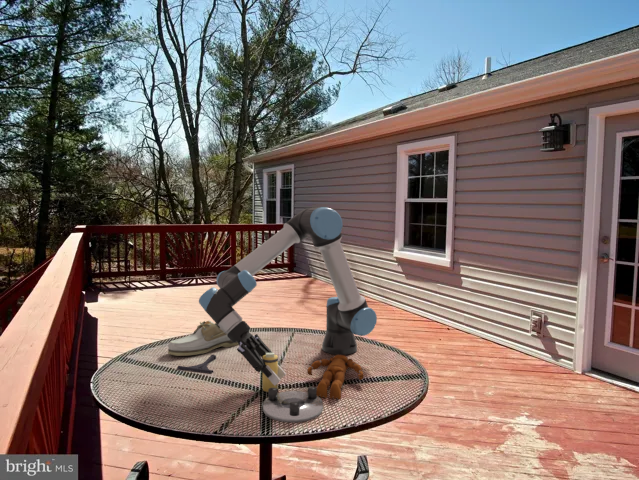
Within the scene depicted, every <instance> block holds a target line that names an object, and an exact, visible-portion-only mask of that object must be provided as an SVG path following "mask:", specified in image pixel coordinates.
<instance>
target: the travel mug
mask: <svg viewBox="0 0 639 480" xmlns="http://www.w3.org/2000/svg"><path fill="white" fill-rule="evenodd" d="M261 358H262V360H263V361H264V363H265V364H266V366H267V365H268V366H269V367H270V368H271V369H272V370H273V371H274V372H275V374H276V375H277V376H278V365H279V364H278V361H279V357H278V355H277V354H275V352H272V353H266V355H264V356H263V357H261ZM261 374H262V378H261V381H262V389H263V390H262V391H263V392H267V393H268V389H269V388H277V389H278V384H279V383H277V384H276V385H275V386H274V385H273V383H272V382H271V381H270V380H269V379H268V378H267V377H266V375H265V374H264V373H263V372H262V373H261Z"/></svg>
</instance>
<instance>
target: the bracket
mask: <svg viewBox="0 0 639 480" xmlns="http://www.w3.org/2000/svg"><path fill="white" fill-rule="evenodd" d="M215 360H217V356H216V354H211V355H210V356H209V357H208V358H207V359H206V360H205V361H204V362H202V363H199V364H195V365H190V366H189V365H188V366H185V365H183V366H182V365H178V366H177V368H176V369H177V370H179V369H180V371H186V372H187V371H188V372H194V373H203V374H212V373H214V370H213V369H209V367H208V365H209V364H211V363H213V362H214V361H215Z"/></svg>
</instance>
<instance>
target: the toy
mask: <svg viewBox="0 0 639 480" xmlns="http://www.w3.org/2000/svg"><path fill="white" fill-rule="evenodd" d="M320 367H326V370H325V371H324V372H323V373H322V374H323V375H322V377H321V378H322V379H321V380H320V381H319V383H318V384H317V387H316V388H317V396H318V397H319V398H321V399H323V398H324V399H327V398H328V397H329V399H332V400H333V399H334V400H336V399H338V400H341V398H342V390H341V389H342V388H343V384H344V382H345V376H346V373H347V370H348V369H352V370H353V371H354V372H355V373H357V377H358V380H360V381H361V380H363V379H364V377H365V376H364V375H365V374H364V372H363V369H362V367H361V365H360V364H358V363H356V362H355V361H354V360H353V359H352V358H348V357H347V355H336V354H335V355H334V356H333V357H330V358H329V359H327V358H322V359H320V360H315V361H314V362H312V363H311V365H310V366H308V367H307V371H306V372H307V375H308V376H313V370H314V371H315V370H318V369H319V368H320ZM331 382H332V383H331ZM329 388H330V389H329ZM328 389H329V393H328ZM328 395H329V396H328Z"/></svg>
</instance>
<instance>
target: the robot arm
mask: <svg viewBox="0 0 639 480" xmlns="http://www.w3.org/2000/svg"><path fill="white" fill-rule="evenodd" d="M343 226H344V225H343V219H342V217H341V215H340V214H339V212H337V210H335V209H333V208H329V207H326V206H320V207H307V208H304V209H302V210H301V211H299V212H298V213H297V214H295V215H294V216H293V217H291V218H290V219H289V220H287V222H285V223H284V224H283V227H282V228H281V229H280V230H278V232H276V233H275V234H273V235H272V236H271V237H269V238H268V239H267V240H266V241H264V242H262V244H261V245H259V246H258V247H257V248H255V249H254V250H252V251H251V252H250V253H248V254H247V255H246V256H245V257H243V258H242V259H241V260H239V261H238V262H237V263H236V264H234V265H232V267H230V268H229V269H227V270H223V271H221V272H219V273H218V274H217V276H216V285H217V286H218V288H219V289H218V288H216V287H215V286H213V287H210V288H209V289H207V290H205V292H203V293H202V295H200V297H199V298H198V303H199V305H200V307H202V309H203V310H204V311H205V312H206V314H207V315H208V316H209V317H210V319H212V320H213V322H214V324H215V323H216V324H217V325H218V326H219V327H220V329H221V330H223V332H224V333H225V334H226V333H228V334H227V336H228V338H229V339H230V340H231V341H232V342H233V343H235V342H238V344H239V345H238V347H237V348H236V351H237V352H238V353H240V354H241V355H242V356H243V358H245V360H246V361H247V362H248V363H249V365H250V366H251V367H252V368H253V369H254V370H255V372H257V373H261V372H262V373H264V374H265V375H266V377H267V378H268V379H269V380H270V381H271V382H272V383H273V385H274V386H275V385H276V384H277V383H278V384H279V383H280V382H281V381H282V379H283V378H284V377H285V376H286V375H287V373H286V372H285V370H284V369H283V368H282V367H281V366H280V364H278V376H277V375H276V374H275V372H274V371H273V370H272V369H271V368H270V367H269V366H268V365H267V366H266V364H265V363H264V361H263V360H262V357H263V356H264V355H266V353H273V351H272V350H271V349H270V348H269V347H268V346H267V344H266V343H265V342H264V341H263V340H262V339H261V337H260V336H259V335H258V334H257V333H256V334H255V335H254V334H252V333H251V332H250V330H251V327H250V326H249V324H248V323H247V321H245V320H243V317H242V316H241V315H240V314H239V313H238V312H237V311H236V310H235V309H234V306H235V305H236V304H238V303H239V302H240V301H242V299H243V298H245V297H246V296H247V295H248V294H249V293H252V291H253V290H254V289H255V288H256V287H257V285H258V282H257V281H256V279H255V277H254V275H256V274H257V273H258V272H259V271H261V270H262V269H263V268H265V267H266V266H267V265H268V264H270V263H271V262H273V261H274V260H275V259H276V258H277V257H279V256H280V255H281V254H283V253H284V252H285V251H286V250H288V249H289V248H290V247H291V246H293V245H294V244H299V243H301V242H302V241H304V240H305V239H307V238H310V239H311V241H312V244H313V247H314V248H316V249H318V250H319V252H320V254H321V256H322V260H323V261H324V262H323V263H324V265H325V268H326V270H327V272H328V276H329V278H330V280H331V283H332V286H333V287H334V288H333V289H334V291H335V293H336V296H334V297H333V296H332V297H329V298H327V300H326V331H325V335H324V338H323V341H322V344H321V349H322V351H323V352H324V353H326V354H331V355H335V356H336V355H344V356H347V355H351V354H355V353H356V352H357V351H358V344H357V341H356V337H355V335H356V336H358V337H359V336H360V337H362V336H363V337H365V336H367V335H369V334H370V333H371V332H373V330H374V329H375V326H376V324H377V320H378V318H377V317H378V316H377V312H376V311H375V310H374V309H373V308H371V307H369V305H368V302H367V300H366V298H365V296H364V295H361V294H360V291H359V289H358V286H357V283H356V281H355V278H354V275H353V273H352V270H351V268H350V265H349V261H348V259H347V257H346V253H345V252H344V249H343V246H342V243H341V240H342V238H343V235H342V229H343Z"/></svg>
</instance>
